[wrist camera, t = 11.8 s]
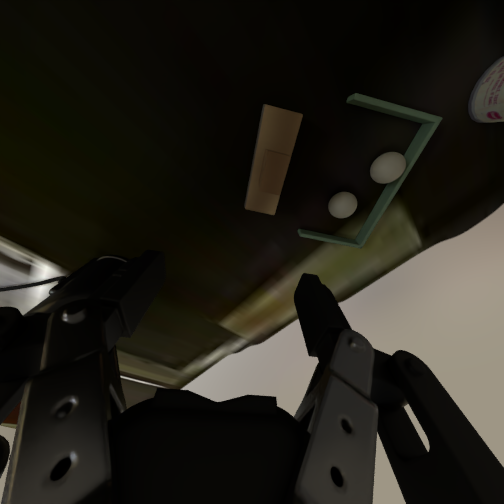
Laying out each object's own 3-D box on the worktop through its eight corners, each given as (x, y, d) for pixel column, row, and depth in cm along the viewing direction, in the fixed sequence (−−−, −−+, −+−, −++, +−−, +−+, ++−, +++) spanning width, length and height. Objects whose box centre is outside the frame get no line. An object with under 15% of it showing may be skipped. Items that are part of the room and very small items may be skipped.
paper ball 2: (359, 177, 27) (376, 183, 24) (373, 148, 25) (395, 149, 22) (380, 182, 28) (401, 188, 25) (396, 154, 26) (421, 156, 23)
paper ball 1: (345, 216, 30) (322, 210, 31) (357, 192, 28) (332, 186, 28) (352, 224, 27) (326, 217, 27) (366, 198, 25) (338, 191, 25)
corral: (297, 231, 32) (299, 236, 31) (348, 96, 22) (355, 92, 21) (356, 243, 33) (361, 248, 32) (429, 119, 24) (442, 117, 22)
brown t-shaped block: (244, 203, 30) (240, 225, 22) (262, 106, 23) (266, 87, 15) (273, 209, 30) (279, 233, 22) (299, 116, 24) (321, 102, 16)
